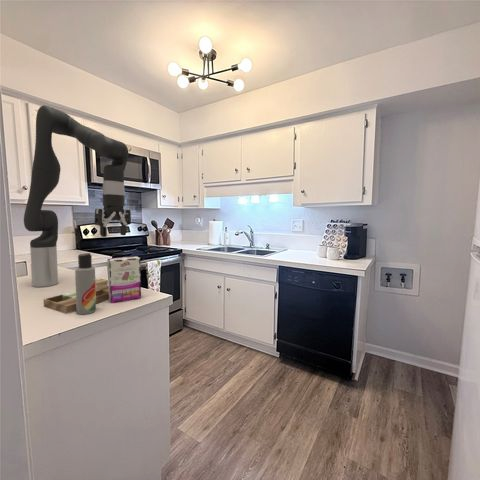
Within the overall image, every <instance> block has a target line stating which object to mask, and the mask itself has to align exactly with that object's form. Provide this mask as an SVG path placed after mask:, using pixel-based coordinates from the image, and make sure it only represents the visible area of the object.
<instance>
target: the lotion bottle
mask: <svg viewBox="0 0 480 480" xmlns="http://www.w3.org/2000/svg"><path fill="white" fill-rule="evenodd" d="M92 256H93V255H92V254H91V252H90V253H89V252H87V253H80V254H78V256H77V262H78V267H76V268H74V269H75V271H74V275H75V291H76V309H77V310H76V313H77V314H78V315H89V314H90V315H91V314H92V313H94V312H95V311H96V310H97V304H96V287H95V279H96V267H95V266H93V265H92V261H93V259H92Z"/></svg>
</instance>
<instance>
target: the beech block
mask: <svg viewBox="0 0 480 480" xmlns="http://www.w3.org/2000/svg"><path fill="white" fill-rule="evenodd" d="M95 287H96V290H99V289H102V288H106V287H108V279H105V278H104V279H103V278H100V277H99V278H95Z"/></svg>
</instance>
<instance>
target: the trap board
mask: <svg viewBox="0 0 480 480" xmlns="http://www.w3.org/2000/svg"><path fill="white" fill-rule="evenodd" d="M105 301H109V290H108V287H106V288H102V289H99V290H96V305H97V304H100V303H103V302H105ZM43 307H45V308H48V309H50V310H51V309H52V310H55V311H58V312H61V313H64V314H69V313H70V314H71V313H73V312H75V311H76V312H77V309H76V290H73V291H70V292H67V293H63V294H59V295H54V296H51V297H48V298H44V299H43Z"/></svg>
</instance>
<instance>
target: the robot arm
mask: <svg viewBox="0 0 480 480" xmlns="http://www.w3.org/2000/svg"><path fill="white" fill-rule="evenodd" d="M35 117H36V118H35V142H34V143H35V147H34V155H33V162H32V168H31V175H30V176H31V177H30V178H31V179H30V186H29V187H30V188H29V192H28V197H27V198H28V199H27V202H26V205H25V208H24V209H25V211H24V214H23V224H24V228H25V229H26V230H27V231H29V232H41V234H40V235H39V236H38V237H36V238H33V239H31V240H30V242H29V245H30V247H29V249H30V270H31V271H30V272H31V275H30V276H31V285H32V287H34V288H35V287H36V288H44V287H45V288H46V287H52V286H55V285H57V284H59V276H58V275H59V271H58V253H57V251H58V248H57V247H58V246H57V243H58V238H59V218H58V215H57V213H56V212H55V211H54V210H49V209H42V207H43V204H44V201H45V200H46V198H48V196H49V195H51V193H52V192H53V191H54V190H55V189H56V188H57V186H58V185H59V182H60V178H61V177H60V175H61V164H60V161H59V159H58V157H57V155H56V153H55V151H54V148H53V144H52V141H53V139H52V136H53V134H56V135H61V136H65V137H71V138H74V139H76V140H77V141H78V142H79V143H80V144H82V145H83V146H85V147H87V148H89V149H90V150H91V149H92V150H93V151H95V152H96V153H97V154H99V155H100V156H103V157H105V158H108V159H112V160H111V164H107V165H104V166H103V169H102V177H103V178H102V181H103V183H102V206H103V208H95V209H94V223H93V224H94V225H95V226H99V234H100V236H101V237H103V238H106V237H107V235H108V234H107V233H108V231H107V229H108V228H107V226H108V224H109V223H110V222H111V221H113V222H114V221H117V222H119V225H120V236H126V235H127V230H128V227H127V226H128V225H132V216H131V215H132V212H131V210H130V209H127V208H126V209H124V207H125V198H126V196H125V193H126V192H125V170H126V166H127V163H128V160H129V153H130V152H129V149H128V146H127V145H126V144H125V142H122V141H119V140H117V139H114V138H111V137H108V136H106V135H104V134H103V133H101V132H100V131H97V130H95V129H94V128H92V127H89V126H86V125H84V124H82V123H80V122H79V121H77V120H76V119H74V118H73V117H71V115H69V114H68V113H66V112H64V111H62V110H59V109H57V108H54V107H51V106H49V105H45V104H44V105H40V107H39V108H38V109H37V112H36V116H35Z"/></svg>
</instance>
